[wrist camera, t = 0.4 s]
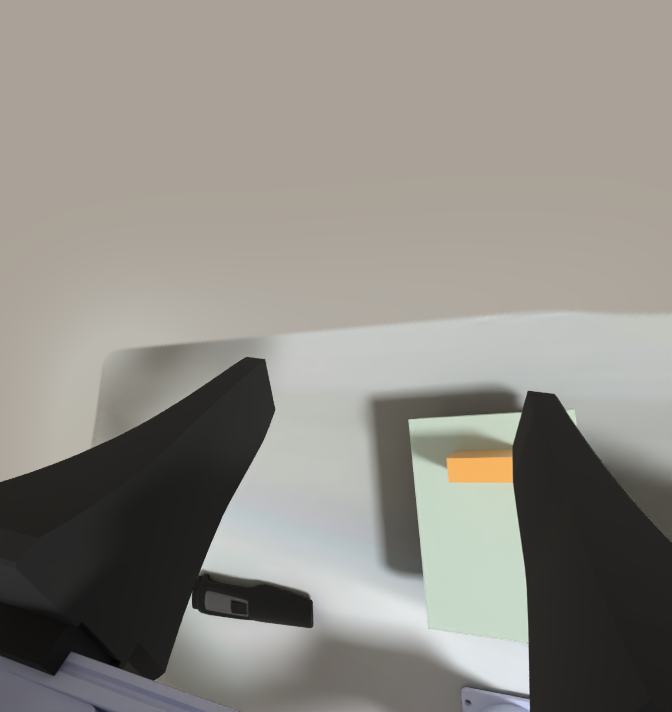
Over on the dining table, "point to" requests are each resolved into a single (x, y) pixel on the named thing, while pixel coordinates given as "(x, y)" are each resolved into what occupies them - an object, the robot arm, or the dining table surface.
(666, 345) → the dining table surface
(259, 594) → the electric trimmer
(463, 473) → the lid
